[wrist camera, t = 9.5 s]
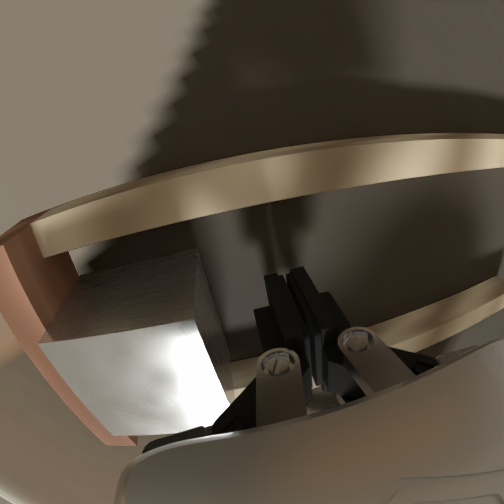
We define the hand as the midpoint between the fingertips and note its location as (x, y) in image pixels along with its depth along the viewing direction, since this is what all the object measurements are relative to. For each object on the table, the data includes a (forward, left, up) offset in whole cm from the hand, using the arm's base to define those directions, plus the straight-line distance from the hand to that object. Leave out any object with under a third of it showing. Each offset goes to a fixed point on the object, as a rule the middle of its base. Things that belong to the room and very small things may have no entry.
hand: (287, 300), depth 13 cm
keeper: (+6, +1, -2) cm, 6 cm away
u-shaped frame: (-3, 0, -2) cm, 3 cm away
